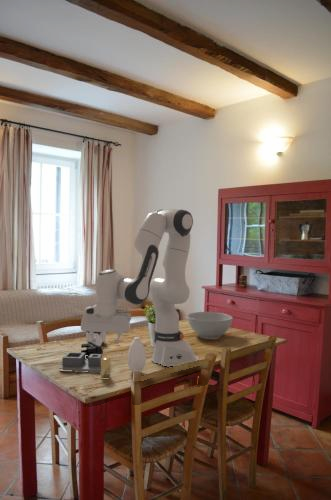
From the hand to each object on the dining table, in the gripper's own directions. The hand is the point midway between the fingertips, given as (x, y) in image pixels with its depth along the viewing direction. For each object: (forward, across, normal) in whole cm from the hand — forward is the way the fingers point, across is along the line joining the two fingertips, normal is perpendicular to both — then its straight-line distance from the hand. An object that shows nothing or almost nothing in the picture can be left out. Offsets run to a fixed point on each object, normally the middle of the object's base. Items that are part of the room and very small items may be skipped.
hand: (105, 342), depth 160 cm
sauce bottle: (+15, -13, -8) cm, 21 cm away
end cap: (+15, +11, -26) cm, 32 cm away
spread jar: (+15, +14, -48) cm, 52 cm away
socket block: (+15, +11, -12) cm, 22 cm away
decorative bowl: (+13, -48, -72) cm, 88 cm away
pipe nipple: (+15, -1, 0) cm, 15 cm away
